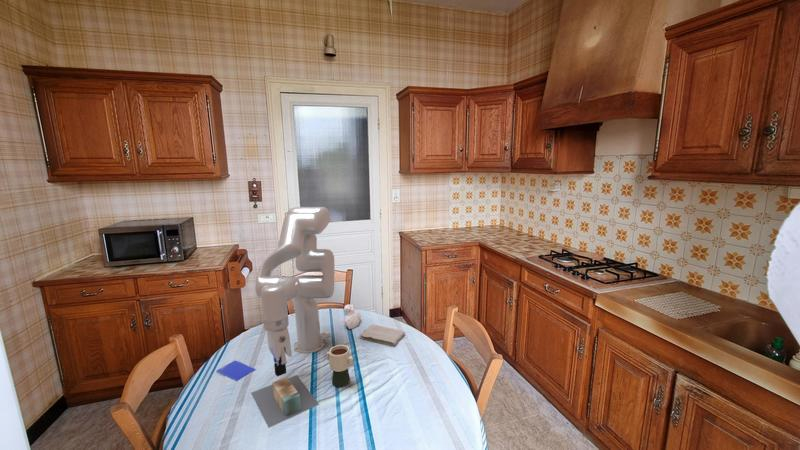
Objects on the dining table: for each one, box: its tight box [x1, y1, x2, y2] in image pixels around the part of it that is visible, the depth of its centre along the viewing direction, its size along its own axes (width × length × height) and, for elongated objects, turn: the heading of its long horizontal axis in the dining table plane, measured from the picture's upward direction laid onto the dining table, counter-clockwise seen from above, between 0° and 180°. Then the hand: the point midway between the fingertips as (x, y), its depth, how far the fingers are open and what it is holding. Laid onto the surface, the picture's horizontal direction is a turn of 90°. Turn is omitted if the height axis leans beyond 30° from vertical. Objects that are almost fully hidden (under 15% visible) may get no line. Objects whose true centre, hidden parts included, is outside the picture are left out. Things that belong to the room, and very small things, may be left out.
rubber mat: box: [250, 374, 320, 429], centre depth 114 cm, size 16×20×1 cm
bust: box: [343, 303, 362, 330], centre depth 165 cm, size 12×8×11 cm
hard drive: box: [215, 359, 257, 382], centre depth 130 cm, size 2×8×12 cm
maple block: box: [271, 376, 301, 417], centre depth 111 cm, size 5×5×12 cm
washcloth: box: [359, 324, 406, 348], centre depth 154 cm, size 12×18×3 cm, turn 66°
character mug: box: [326, 344, 354, 388], centre depth 121 cm, size 11×7×13 cm, turn 67°
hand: (280, 373), depth 113 cm, fingers closed
